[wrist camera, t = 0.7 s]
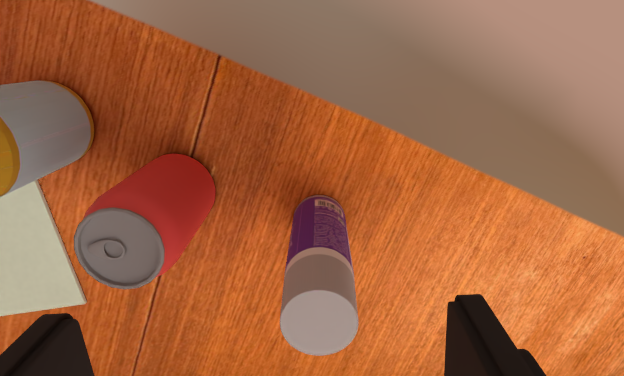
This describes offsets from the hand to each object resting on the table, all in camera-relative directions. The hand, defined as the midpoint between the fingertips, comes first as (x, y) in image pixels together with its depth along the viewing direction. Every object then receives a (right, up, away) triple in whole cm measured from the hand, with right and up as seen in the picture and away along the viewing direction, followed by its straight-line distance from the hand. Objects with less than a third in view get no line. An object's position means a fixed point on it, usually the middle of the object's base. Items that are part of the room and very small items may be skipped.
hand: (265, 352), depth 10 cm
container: (+2, +1, +27) cm, 27 cm away
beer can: (-11, +4, +27) cm, 29 cm away
